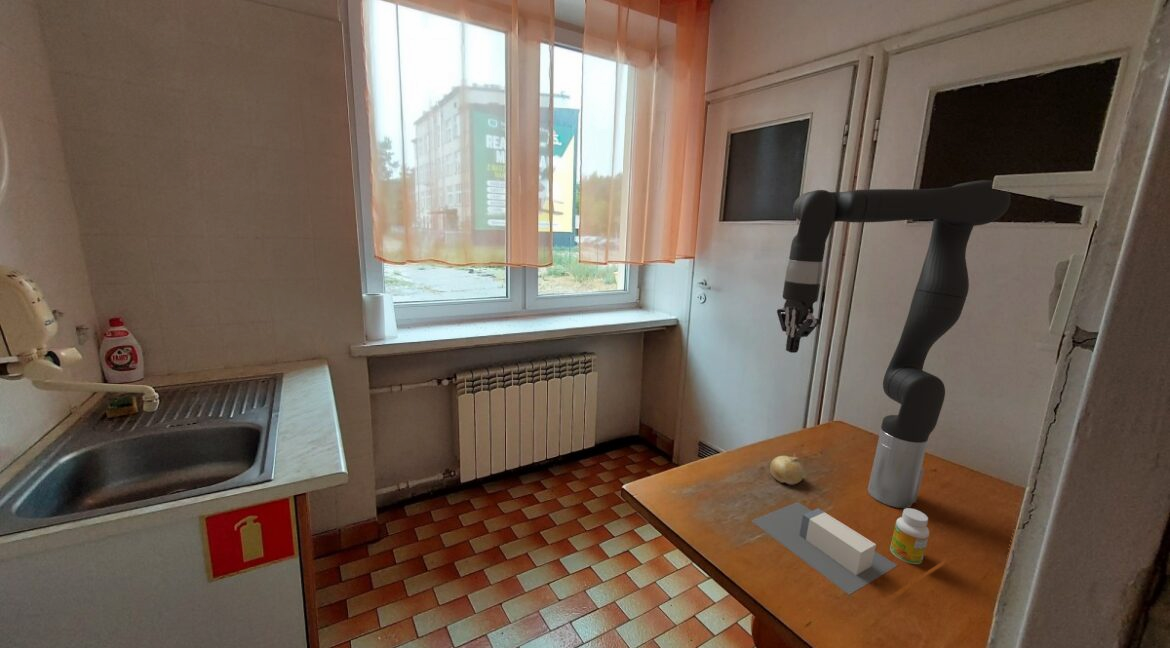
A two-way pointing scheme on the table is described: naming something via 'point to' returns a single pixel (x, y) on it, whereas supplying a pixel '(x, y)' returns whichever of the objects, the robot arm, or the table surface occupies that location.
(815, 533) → the tall block
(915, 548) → the supplement bottle
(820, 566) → the mat
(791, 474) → the onion
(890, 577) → the table surface
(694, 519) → the table surface
